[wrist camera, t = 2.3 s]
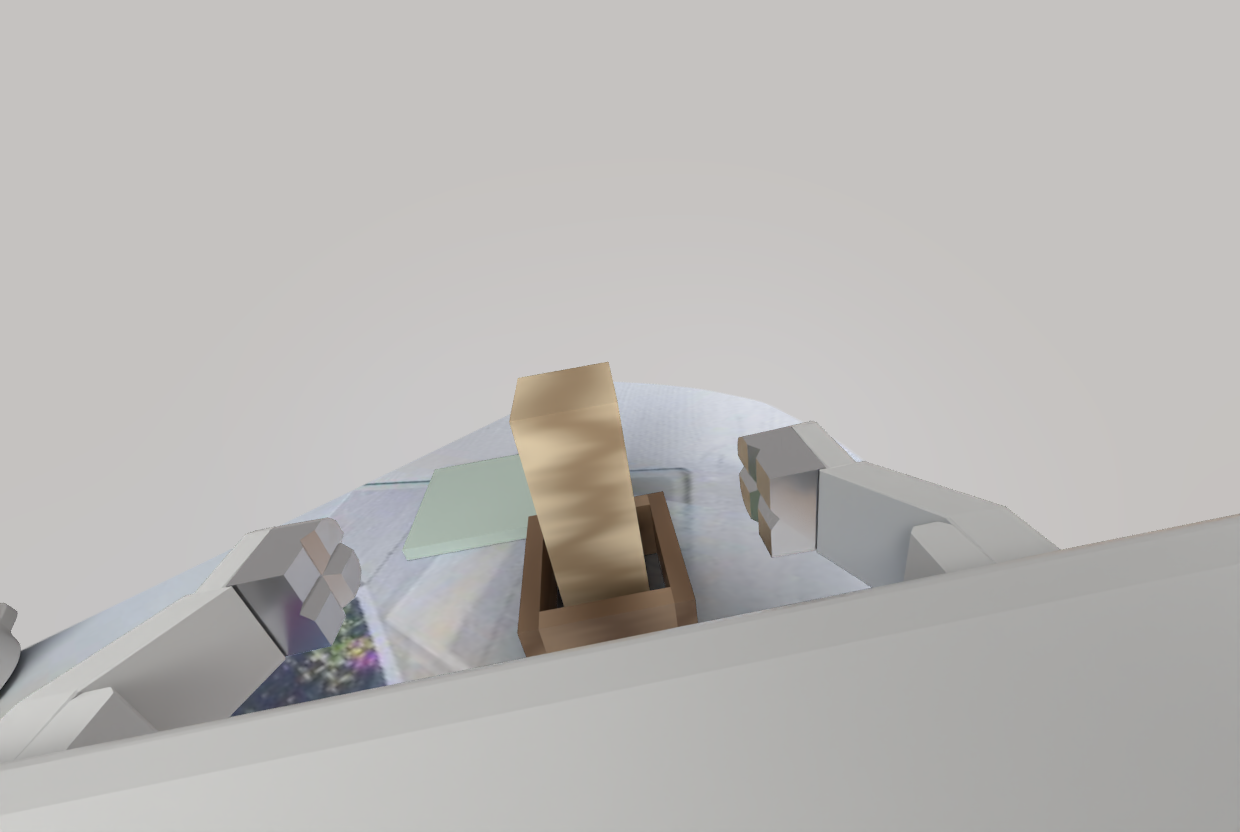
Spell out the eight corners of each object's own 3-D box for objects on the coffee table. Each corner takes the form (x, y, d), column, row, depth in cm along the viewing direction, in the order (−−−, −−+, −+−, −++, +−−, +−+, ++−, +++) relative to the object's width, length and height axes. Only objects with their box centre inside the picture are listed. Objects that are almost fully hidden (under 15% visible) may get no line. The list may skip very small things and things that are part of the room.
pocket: (536, 685, 25) (517, 633, 23) (542, 563, 33) (528, 516, 31) (701, 653, 25) (695, 599, 23) (669, 539, 33) (662, 491, 31)
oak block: (574, 643, 27) (509, 421, 20) (573, 580, 31) (517, 378, 24) (656, 628, 27) (617, 401, 20) (644, 567, 31) (608, 361, 24)
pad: (407, 560, 35) (402, 550, 34) (438, 478, 44) (435, 469, 43) (547, 534, 35) (544, 523, 34) (550, 458, 44) (547, 448, 43)
